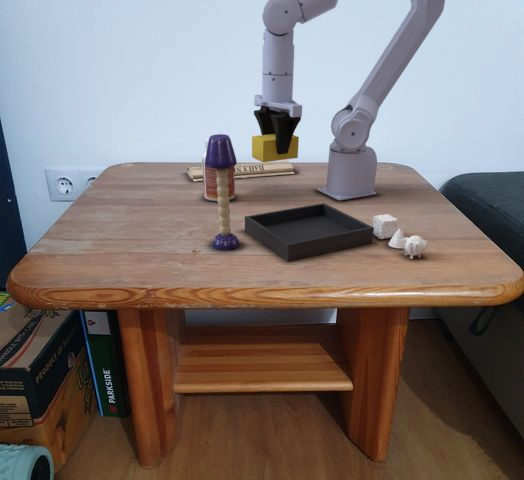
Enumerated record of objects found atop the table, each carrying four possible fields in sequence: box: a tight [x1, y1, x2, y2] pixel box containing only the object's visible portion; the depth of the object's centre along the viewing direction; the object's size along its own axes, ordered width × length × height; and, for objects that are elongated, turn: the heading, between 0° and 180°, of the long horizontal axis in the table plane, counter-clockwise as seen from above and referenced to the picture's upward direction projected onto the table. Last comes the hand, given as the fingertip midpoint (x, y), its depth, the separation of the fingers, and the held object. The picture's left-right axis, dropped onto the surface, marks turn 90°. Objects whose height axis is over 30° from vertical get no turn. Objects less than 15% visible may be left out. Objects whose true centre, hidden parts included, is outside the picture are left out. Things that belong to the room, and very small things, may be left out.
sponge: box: [251, 134, 300, 163], centre depth 104 cm, size 8×4×4 cm, turn 119°
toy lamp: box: [205, 133, 240, 251], centre depth 81 cm, size 5×5×17 cm
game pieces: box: [371, 213, 428, 259], centre depth 85 cm, size 12×3×3 cm, turn 20°
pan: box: [244, 202, 374, 262], centre depth 88 cm, size 16×14×3 cm
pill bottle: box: [201, 137, 236, 203], centre depth 103 cm, size 6×6×11 cm
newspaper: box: [186, 160, 296, 182], centre depth 121 cm, size 24×7×2 cm, turn 108°
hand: (275, 150), depth 105 cm, fingers closed on sponge, 4 cm apart
